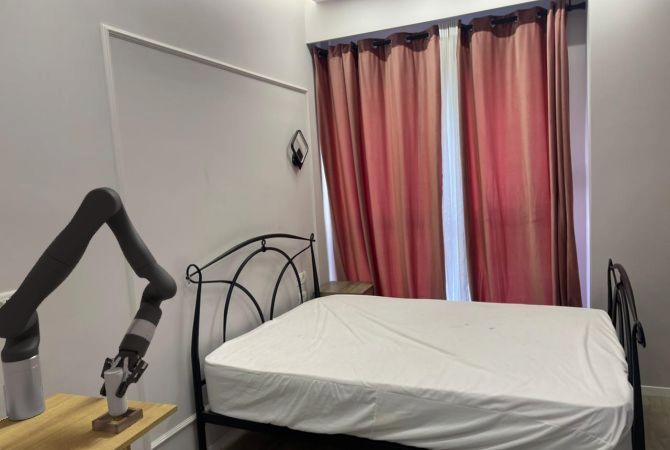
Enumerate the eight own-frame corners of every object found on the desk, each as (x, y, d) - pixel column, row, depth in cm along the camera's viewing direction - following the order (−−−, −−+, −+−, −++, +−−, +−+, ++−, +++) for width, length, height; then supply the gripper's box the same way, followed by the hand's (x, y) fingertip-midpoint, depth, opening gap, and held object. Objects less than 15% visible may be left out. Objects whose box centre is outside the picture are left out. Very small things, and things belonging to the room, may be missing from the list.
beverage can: (120, 417, 125) (115, 374, 124) (104, 416, 126) (99, 374, 125) (131, 408, 130) (126, 367, 129) (116, 408, 131) (111, 367, 130)
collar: (92, 430, 125) (91, 420, 125) (118, 414, 134) (117, 405, 133) (119, 433, 122) (118, 424, 122) (143, 417, 130) (142, 408, 130)
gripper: (110, 331, 135) (81, 389, 125) (150, 333, 131) (122, 393, 120) (126, 342, 141) (99, 399, 131) (165, 345, 136) (139, 403, 126)
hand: (110, 396), depth 126 cm, fingers closed on beverage can, 4 cm apart
